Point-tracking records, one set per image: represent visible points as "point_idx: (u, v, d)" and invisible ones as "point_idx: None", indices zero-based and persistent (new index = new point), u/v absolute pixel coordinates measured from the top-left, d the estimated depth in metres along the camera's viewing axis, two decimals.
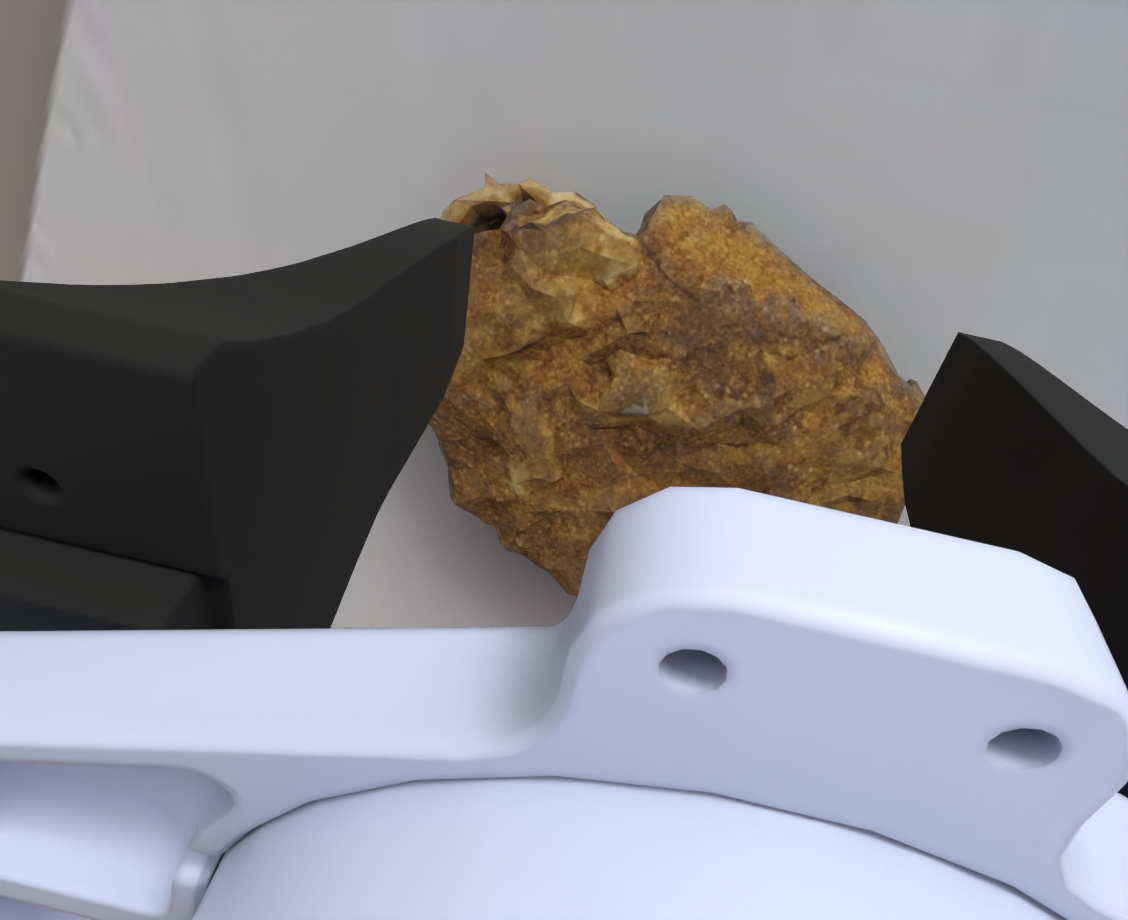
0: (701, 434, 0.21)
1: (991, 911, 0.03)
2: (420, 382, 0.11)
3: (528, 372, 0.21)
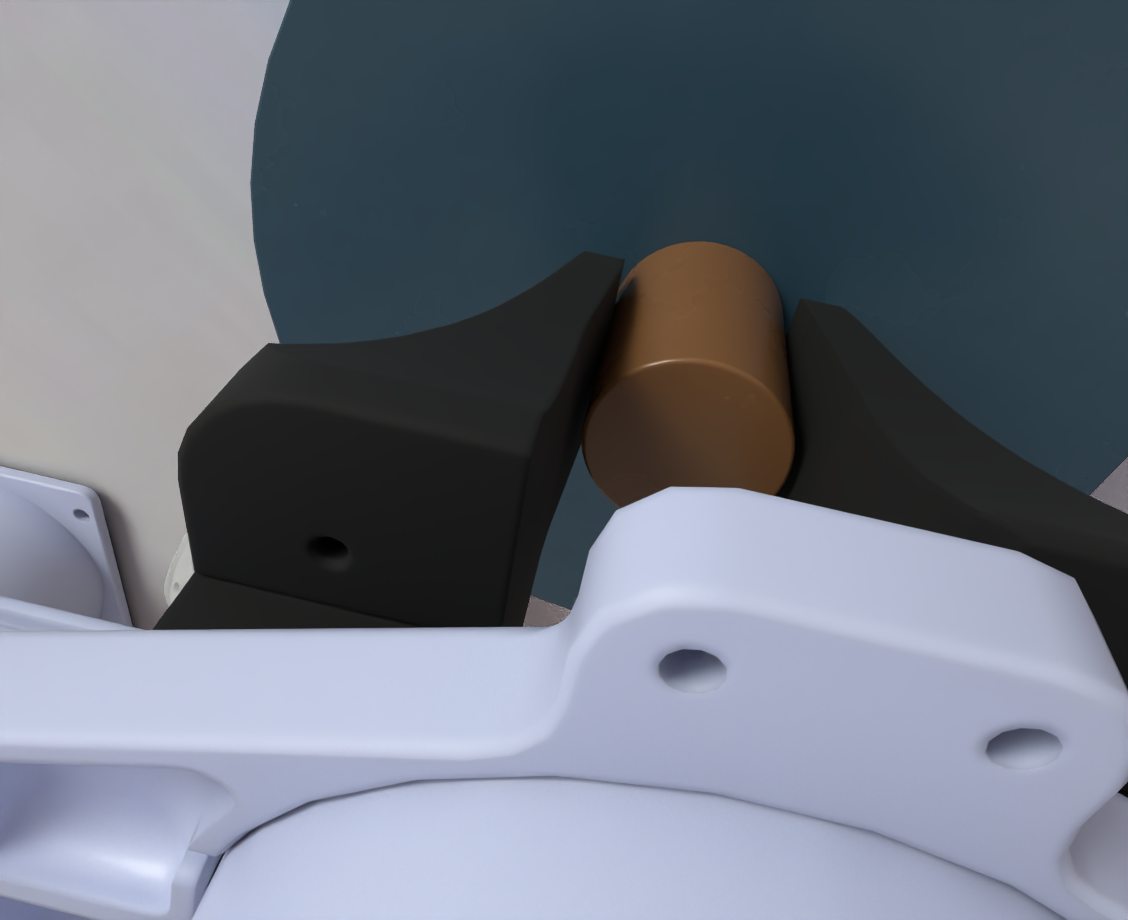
0: None
1: (991, 911, 0.03)
2: (580, 418, 0.11)
3: None
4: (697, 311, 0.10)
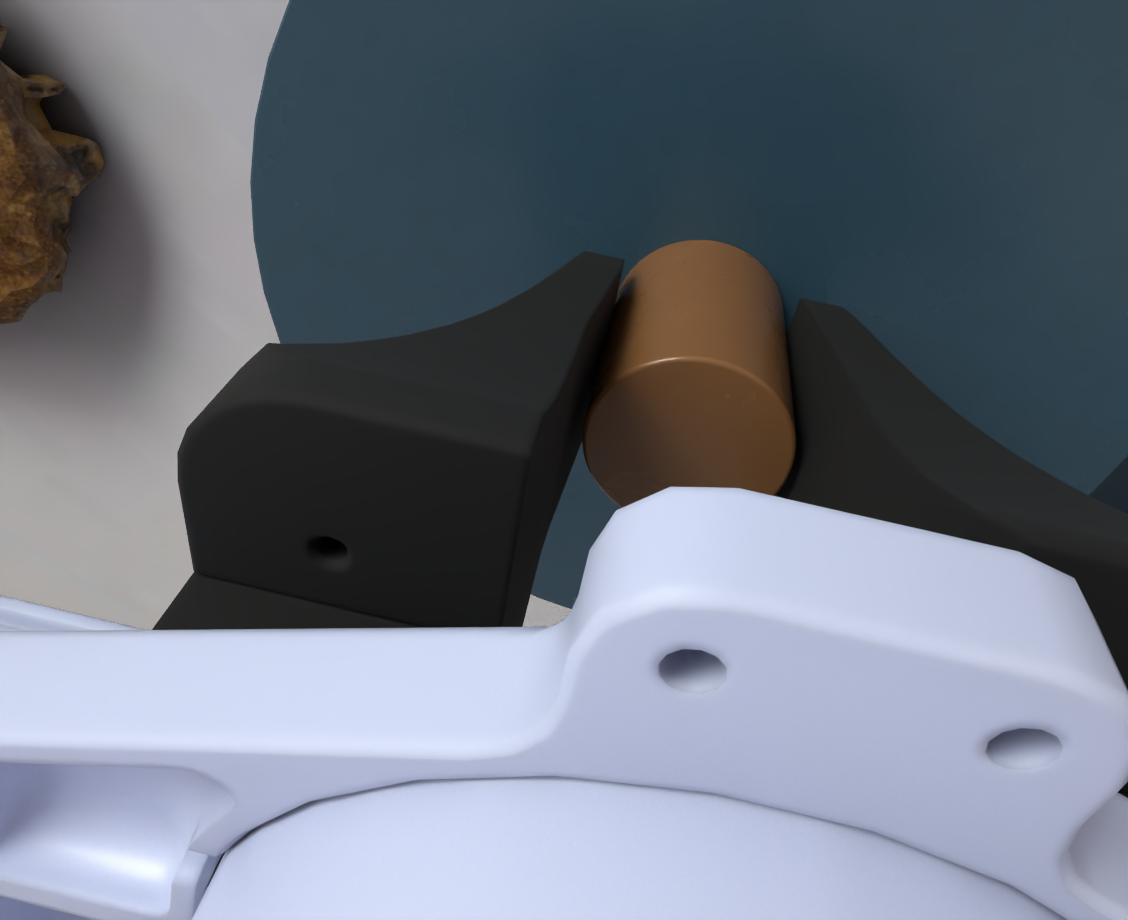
0: None
1: (991, 911, 0.03)
2: (580, 418, 0.11)
3: None
4: (697, 309, 0.10)
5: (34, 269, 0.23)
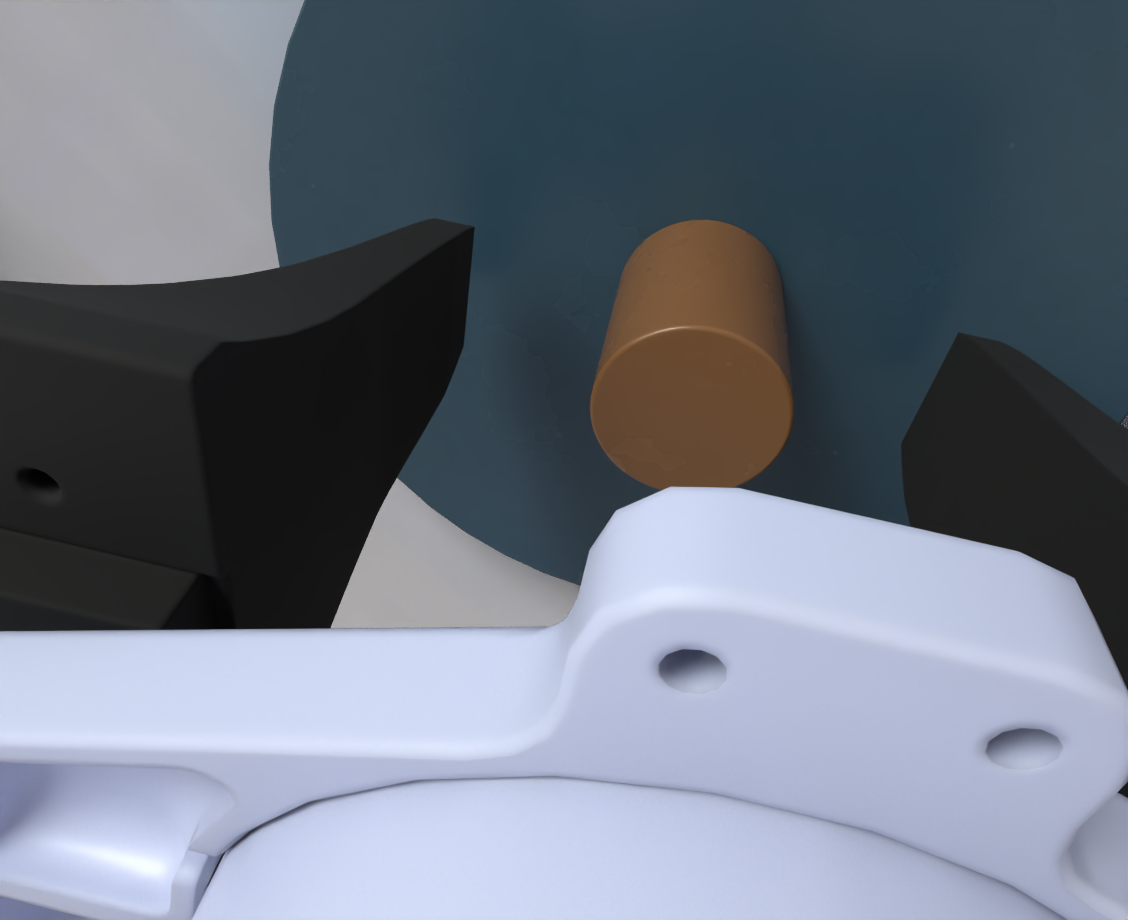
0: None
1: (991, 912, 0.03)
2: (420, 382, 0.11)
3: None
4: (700, 283, 0.11)
5: None
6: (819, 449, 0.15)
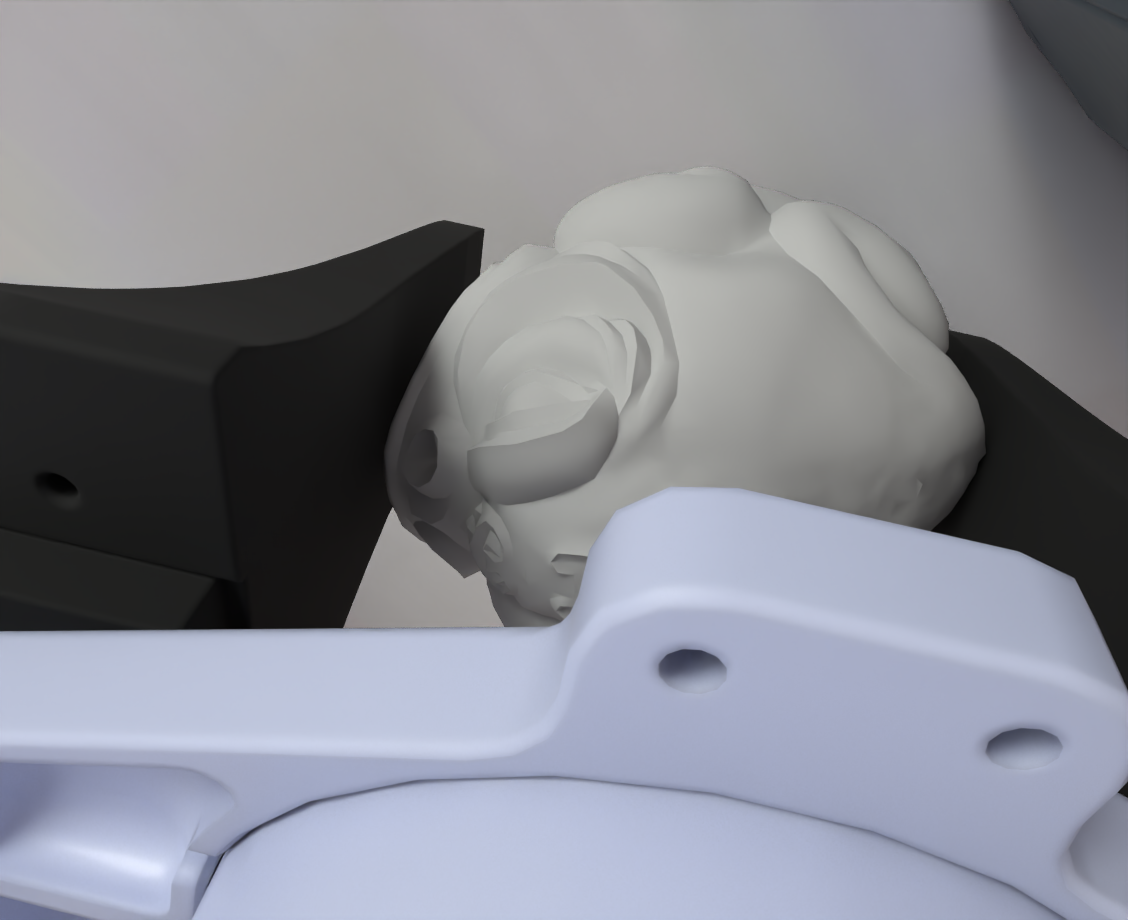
0: None
1: (992, 912, 0.03)
2: None
3: None
4: None
5: None
6: None
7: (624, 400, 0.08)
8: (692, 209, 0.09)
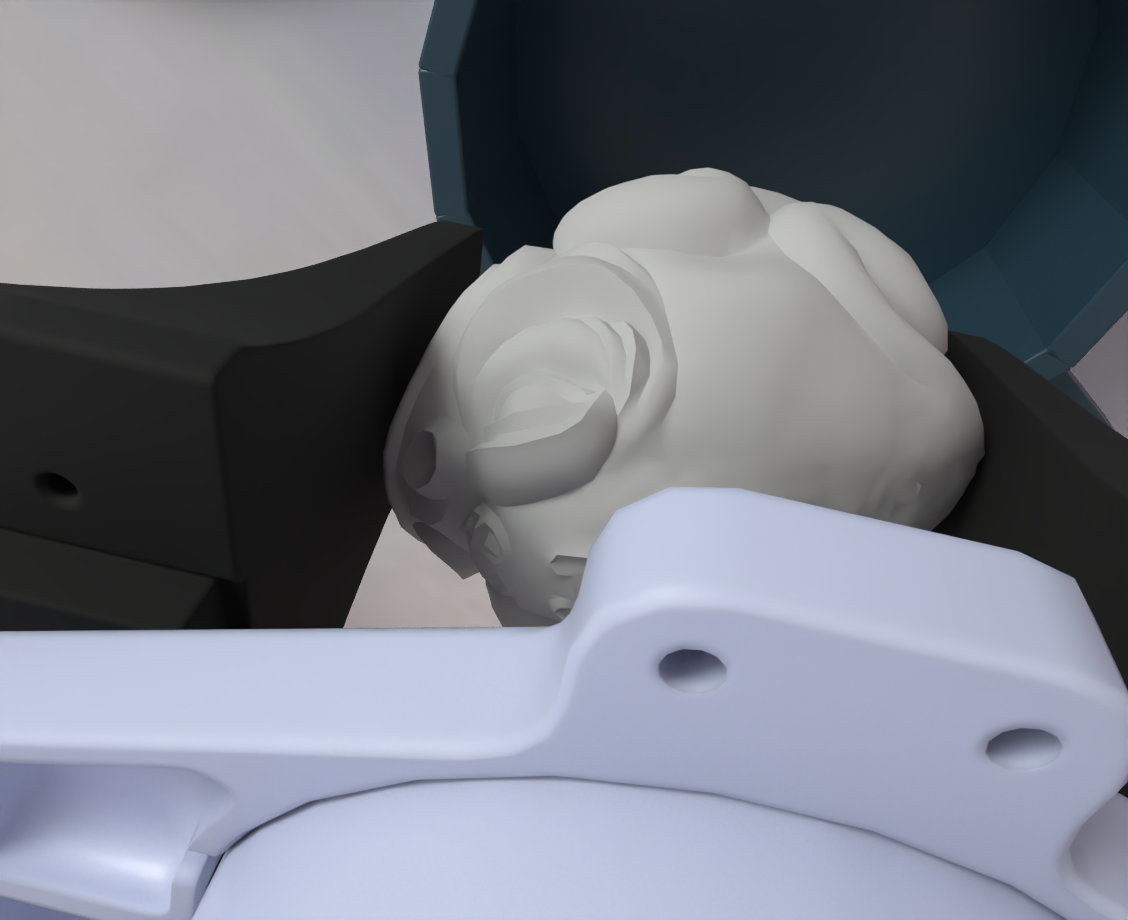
0: None
1: (991, 911, 0.03)
2: None
3: None
4: None
5: None
6: None
7: (624, 401, 0.08)
8: (691, 210, 0.09)
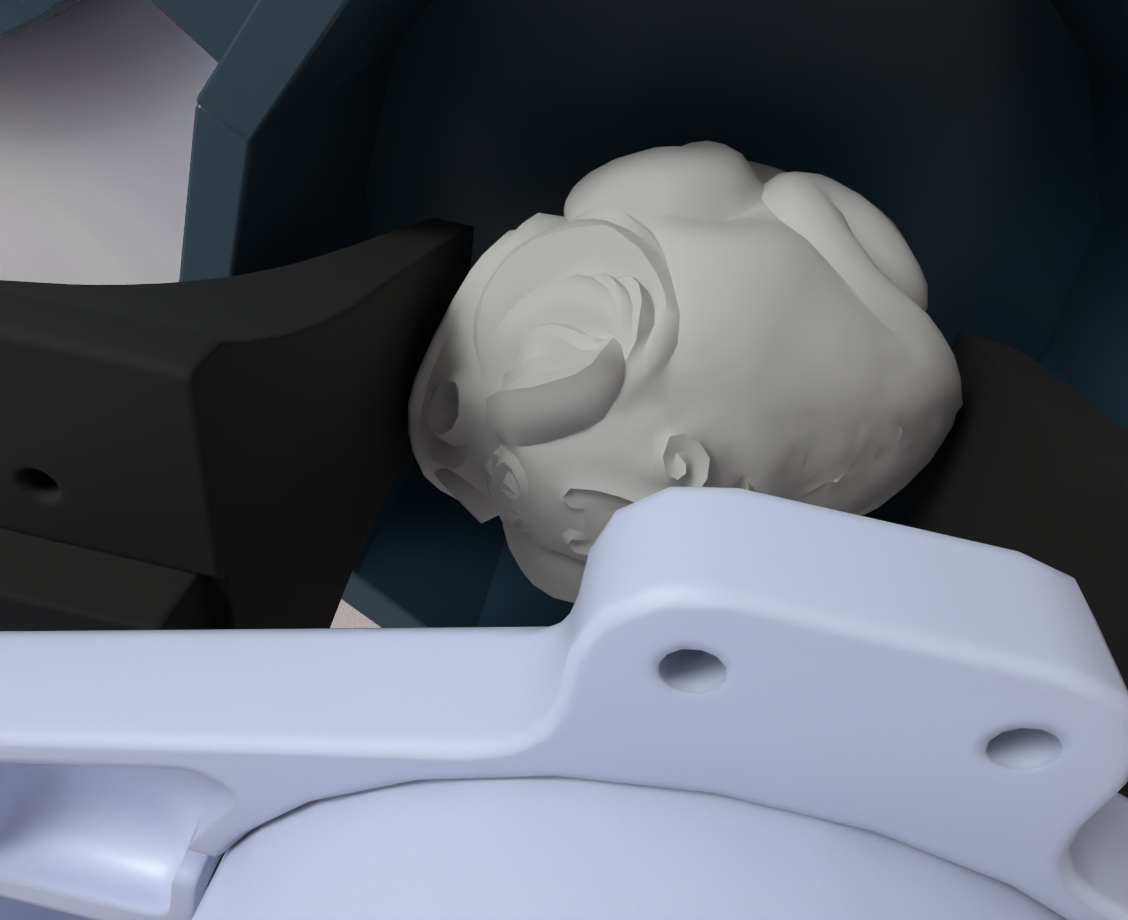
0: None
1: (991, 912, 0.03)
2: None
3: None
4: None
5: None
6: None
7: (631, 347, 0.09)
8: (691, 178, 0.10)
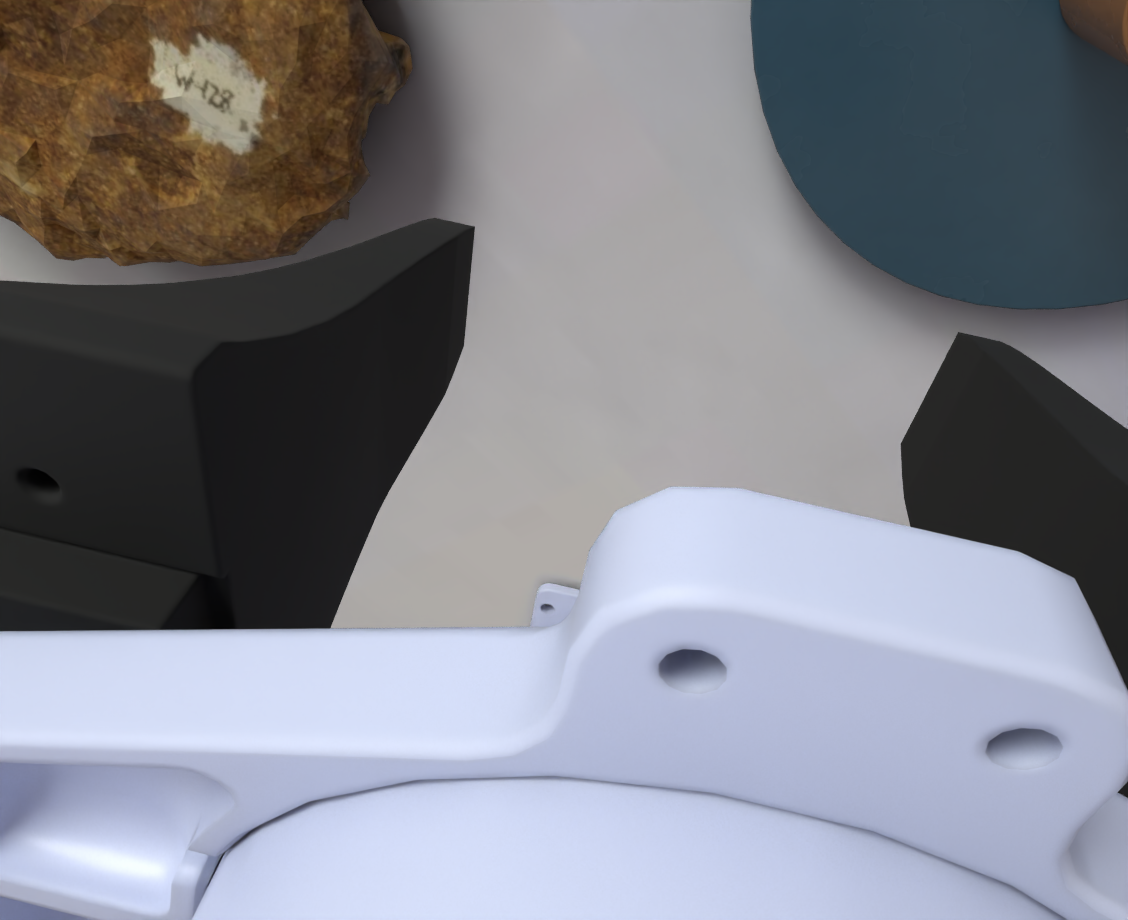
0: None
1: (991, 911, 0.03)
2: (420, 382, 0.11)
3: None
4: None
5: (332, 190, 0.20)
6: None
7: None
8: None
